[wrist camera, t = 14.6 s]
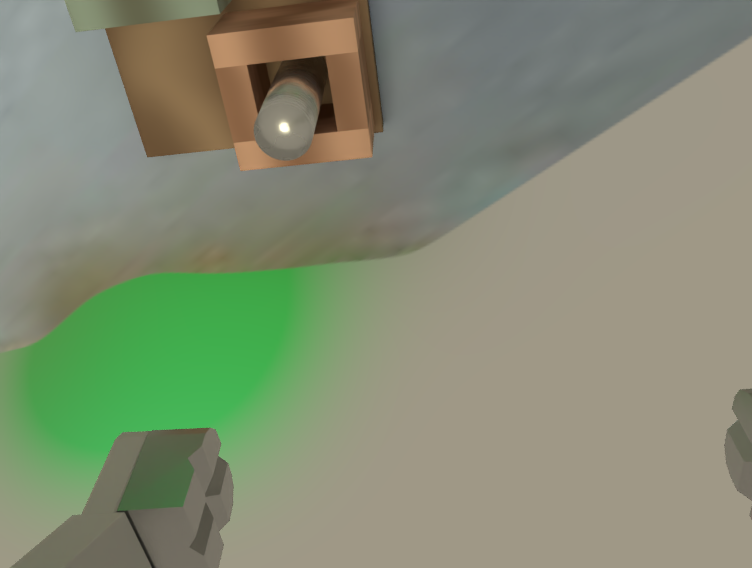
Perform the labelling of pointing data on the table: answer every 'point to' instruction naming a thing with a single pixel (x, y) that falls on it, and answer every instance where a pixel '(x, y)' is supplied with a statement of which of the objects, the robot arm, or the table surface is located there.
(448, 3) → the table surface
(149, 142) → the dock board
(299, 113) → the metal pin
